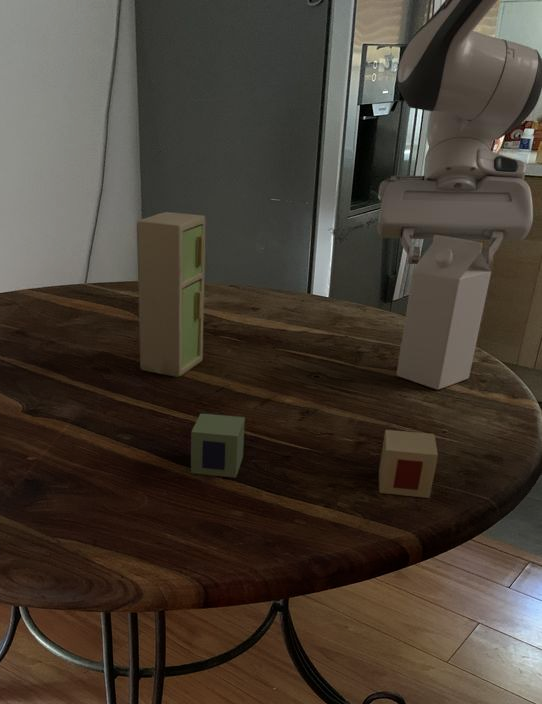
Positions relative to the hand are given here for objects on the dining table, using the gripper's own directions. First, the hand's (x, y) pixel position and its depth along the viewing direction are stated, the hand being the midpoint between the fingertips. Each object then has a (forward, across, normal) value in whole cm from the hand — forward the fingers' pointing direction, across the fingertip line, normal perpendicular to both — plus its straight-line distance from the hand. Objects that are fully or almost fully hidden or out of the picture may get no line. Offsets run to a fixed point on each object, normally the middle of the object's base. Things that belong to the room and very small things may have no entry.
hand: (449, 263), depth 101 cm
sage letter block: (+37, -25, -16) cm, 48 cm away
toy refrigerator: (+16, -37, +5) cm, 41 cm away
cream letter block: (+37, -5, -16) cm, 41 cm away
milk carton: (+14, 0, +7) cm, 16 cm away
